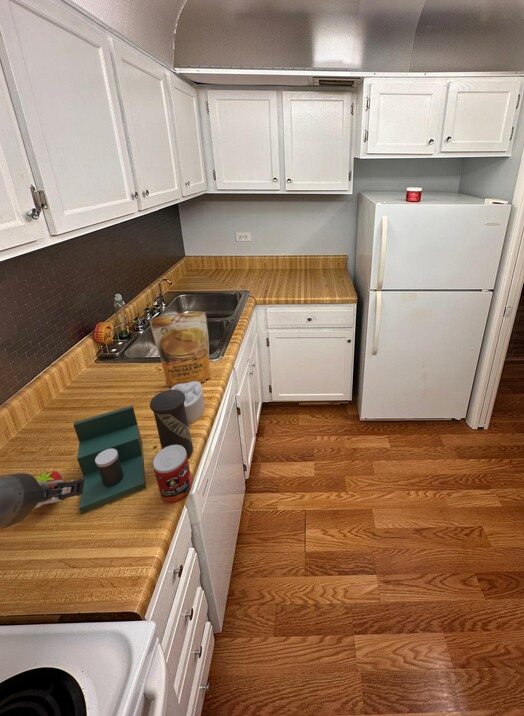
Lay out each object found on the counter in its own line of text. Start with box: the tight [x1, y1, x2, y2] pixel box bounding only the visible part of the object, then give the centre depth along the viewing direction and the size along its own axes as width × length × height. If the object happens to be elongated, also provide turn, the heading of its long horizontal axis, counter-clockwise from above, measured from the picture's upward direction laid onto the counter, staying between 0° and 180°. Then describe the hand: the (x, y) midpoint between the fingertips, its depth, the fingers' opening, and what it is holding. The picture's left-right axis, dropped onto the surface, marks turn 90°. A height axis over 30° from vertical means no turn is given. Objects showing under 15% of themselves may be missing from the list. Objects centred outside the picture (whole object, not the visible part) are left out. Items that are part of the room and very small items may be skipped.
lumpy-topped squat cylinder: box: [170, 381, 206, 426], centre depth 110 cm, size 10×13×9 cm
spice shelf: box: [73, 404, 147, 514], centre depth 87 cm, size 14×17×14 cm
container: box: [149, 389, 194, 459], centre depth 92 cm, size 9×9×20 cm
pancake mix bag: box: [148, 310, 212, 388], centre depth 122 cm, size 7×19×28 cm, turn 107°
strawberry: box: [35, 470, 63, 506], centre depth 80 cm, size 6×8×10 cm
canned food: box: [152, 445, 193, 503], centre depth 83 cm, size 8×8×11 cm
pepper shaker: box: [95, 449, 123, 487], centre depth 84 cm, size 5×5×8 cm
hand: (55, 489), depth 64 cm, fingers open, 8 cm apart
